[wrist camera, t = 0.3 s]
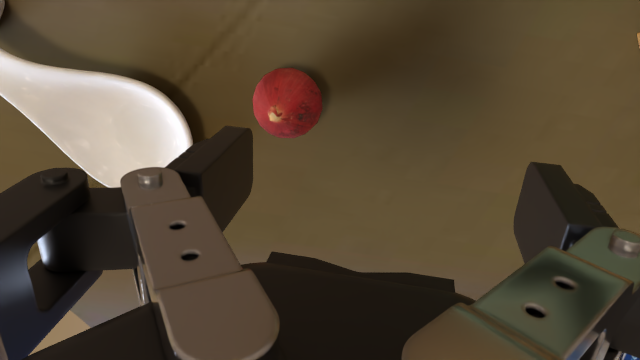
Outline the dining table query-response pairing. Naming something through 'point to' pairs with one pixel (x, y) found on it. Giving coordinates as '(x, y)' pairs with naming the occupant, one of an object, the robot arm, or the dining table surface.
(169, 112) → the spoon rest
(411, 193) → the dining table surface
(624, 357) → the beverage bottle
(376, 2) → the dining table surface
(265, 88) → the red rounded lump
